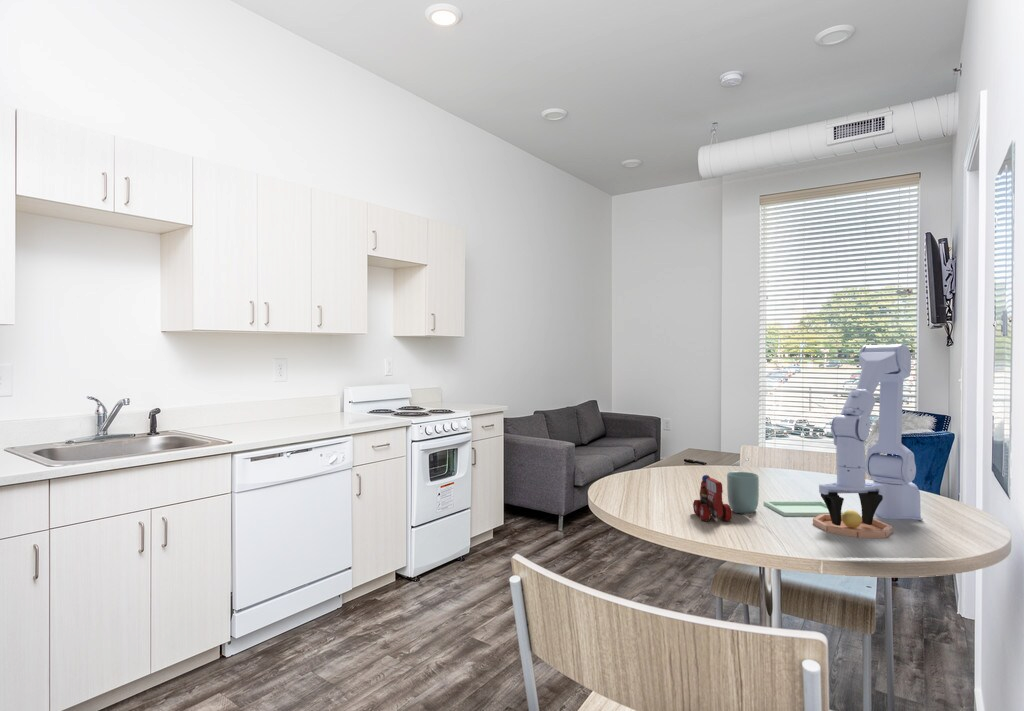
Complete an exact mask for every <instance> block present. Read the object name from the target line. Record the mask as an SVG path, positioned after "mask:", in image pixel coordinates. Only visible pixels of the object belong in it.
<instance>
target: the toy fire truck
mask: <svg viewBox="0 0 1024 711" xmlns="http://www.w3.org/2000/svg"><path fill="white" fill-rule="evenodd" d="M723 492H724V491H723V484H722V482H721V481H719V480H717V479H715V478H713V477H711V476H709V475H708V474H705V475H702V477H701V482H700V488H699V499H694V500H693V503H692V507H693V512H694V513H693V514H695V516H697V517H698V516H699V518H700V519H701V521H703V522H709V521H710V519H711V517H712V518H721V520H722V521H724V522H729V521H731V519H732V517H733V514H732V513H733V512H732V509H731V508H730V506H729V503H728V504H727V503H724V502H723Z"/></svg>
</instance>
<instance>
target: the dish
mask: <svg viewBox="0 0 1024 711" xmlns="http://www.w3.org/2000/svg"><path fill="white" fill-rule="evenodd" d="M861 519H862V516H861ZM812 524H813V526H815V527H817V528H820V529H821V530H823V531H825V532H827V533H832V534H837V535H842V536H847V537H852V538H861V539H862V538H865V539H870V538H871V539H872V538H873V539H878V538H880V539H881V538H882V539H884V538H888V537H889V536H890V535H891V534H892V533H893V532H894V531H893V530H894V529H893V526H892V525H891V524H889V523H886V522H884V521H881V520H879V519H876V518H873V521H872V524H871V525H868V524H865V523H863V521H862V522H861V524H860V526H858V527H856V528H850V527H848V526H846V525H845V524H844V523H843V521H842V514H841V525H840V526H837V525H835V524H832V521H831V517H830V514H820V515H818V516H814V517H813V518H812Z"/></svg>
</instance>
